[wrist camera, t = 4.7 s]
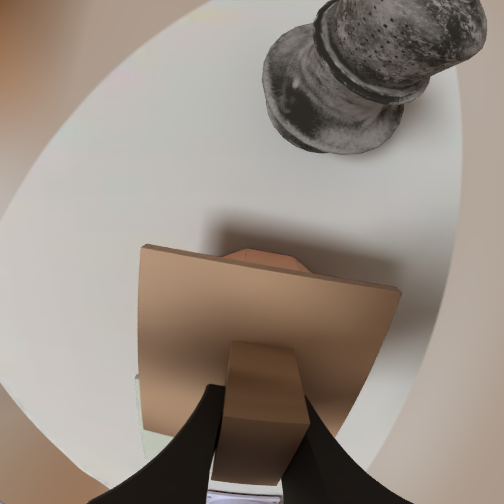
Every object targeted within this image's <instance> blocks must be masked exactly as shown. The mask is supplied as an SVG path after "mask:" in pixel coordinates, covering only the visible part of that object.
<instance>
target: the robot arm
mask: <svg viewBox="0 0 504 504" xmlns="http://www.w3.org/2000/svg"><path fill="white" fill-rule="evenodd" d="M225 387H226V386H221V385H215V384H208V385H207V386H206V389H205V391H204V394H203V396H202V398H201V400H200V401H199V403H198V405H197V407H196V408H195V410H194V411H193V413H192V414H191V416H190V417H189V419H188V420H187V422H186V423H185V424H184V426H183V427H182V428H181V429H180V431H179V432H178V433H177V434H176V436H175V437H174V438H173V439H172V440H171V441H170V442H169V444H168V445H167V446H166V447H165V448H164V449H163V450H162V451H161V452H160V453H159V454H158V455H157V456H156V457H155V458H153V459H152V460H151V461H150V462H149V463H148V464H147V465H145V466H144V467H143V468H142V469H140V470H139V471H138V472H137V473H135V474H134V475H132V476H131V477H130V478H128V479H127V480H125V481H124V482H122V483H121V484H119V485H118V486H116V487H114V488H113V489H111V490H109V491H107V492H105V493H104V494H102V495H100V496H98V497H96V498H94V499H92V500H91V501H89V502H88V503H87V504H278V503H279V502H280V497H268V496H249V495H237V494H227V493H219V492H212V491H207V490H208V482H209V473H210V469H211V465H212V461H213V456H214V452H215V448H216V443H217V438H218V433H219V427H220V422H221V417H222V412H223V407H224V397H225ZM304 397H305V402H306V406H307V411H308V415H309V420H310V425H309V427H308V429H307V431H306V433H305V435H304V437H303V439H302V441H301V443H300V445H299V447H298V449H297V451H296V453H295V454H294V456H293V458H292V460H291V462H290V463H289V465H288V467H287V469H286V470H285V472H284V474H283V476H282V477H281V481H282V488H283V498H284V504H413V503H411V502H409V501H407V500H405V499H403V498H402V497H400V496H398V495H396V494H395V493H393V492H391V491H390V490H388V489H387V488H386V487H384V486H383V485H381V484H380V483H379V482H378V481H376V480H375V479H373V478H372V477H371V476H369V474H367V473H366V472H365V471H364V470H363V469H362V468H361V467H360V466H359V465H358V464H357V463H356V462H355V461H354V460H353V459H352V458H351V457H350V456H349V455H348V454H347V453H346V451H345V450H344V449H343V448H342V447H341V446H340V444H339V443H338V442H337V441H336V439H335V438H334V437H333V435H332V434H331V432H330V431H329V430H328V428H327V427H326V426H325V424H324V423H323V421H322V420H321V418H320V417H319V415H318V414H317V412H316V410H315V409H314V407H313V406H312V404H311V403H310V401H309V399H308V398H307V396H306V395H304ZM0 504H4V503H3V502H2V501H0Z"/></svg>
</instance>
